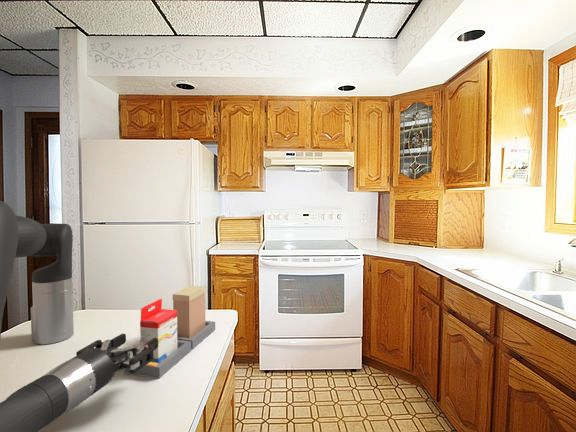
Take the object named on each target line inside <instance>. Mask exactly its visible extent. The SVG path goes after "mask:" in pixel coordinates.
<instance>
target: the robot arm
mask: <svg viewBox="0 0 576 432" xmlns="http://www.w3.org/2000/svg"><path fill="white" fill-rule="evenodd" d="M73 239H74V237H73V229H72V227H71V225H70V224H68V223H40V222H39V221H37V220H35V219H32V218H29V217H25V216H22V215H16V214H15V212H14V210H13V209H12V207H11V206H10V205H9V204H8V203H7V202H5V201H4V200H3V201H2V200H0V339H1V337H2V336H1V335H2V334H1V333H2V323H3V317H4V310H5V305H6V301H7V296H8V292H9V288H10V283H11V279H12V275H13V269H14V264H15V259H16V258H25V257H29V256H30V257H56V260H55V261H54V262H52V263H51V264H49V265H46V266H43V267H40V268H38V269H35V270H34V271H33V272H32V273H31V283H32V284H31V286H32V290H31V291H32V306H30V326H31V327H30V329H31V330H30V332H31V340H32V341H33V343H34V344H37V345H49V344H55V343H59V342H62V341H65V340H68V339H70V338H71V337H73V335H74V333H75V331H74V329H75V328H74V299H73ZM126 342H127V334H126V333H121V334H119V335H117V336H115V337H112V339H106V340H104V341H102V339H98V340H95V341H93V342H92V343H90V344H88V345H86V346H84V347H83V348H81V349H79V350H78V351H76V353H75V354H76V355H75V356H73V357H72V358H70V359H68V360H66V361H64V362H62V363H60V364H59V365H57V366H56V367H54V368H52V369H51V370H49V371H47V372H46V373H45V374H43V375H42V376H40V377H38V378H36V379H34V380H33V381H31V382H30V383H27V384H26V385H23V386H21V387H20V388H19V389H17V390H15V391H14V392H13V393H11V394H10V395H9V396H7V398H5V399H4V400H3V401H1V402H0V432H39V431H41V430H43V429H44V428H45V427H47V426H48V425H50V424H51V423H53V422H54V421H55V420H57V419H58V418H59V417H61V416H62V415H64V414H66V413H67V412H70V411H72V410H73V409H74V408H75V407H78V406H79V405H80V404H81V403H83V402H84V401H86V400H88V398H90V397H91V396H94V394H95V393H97V392H98V391H100V390H102V389H103V388H104V387H106V386H107V385H108V384H109V383H110V382H111V380H112V378H113V377H114V375H115V374H116V373H118V372H119V371H123V370H124V368H127V369H129V373H130V374H129V375H134V374H133V373H135V372H137V371H138V370H140V369H141V368H142V367H144V366H145V365H147V364H148V363H150V362H151V361H153V360H154V350H156V349H157V348H158V338H153V339H152V340H150V341H149V342H147V343H146V344H144V345H142V346H141V345H139V346H135V345H131V346H126V347H122V348H119V347H121V346H122V345H124V344H126ZM141 350H142V352H141V353H139V352H140V351H141ZM128 352H130V358H131V359H130V360H129V361H127V360H128ZM137 353H139V354H138V355H137Z"/></svg>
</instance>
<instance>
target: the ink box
mask: <svg viewBox="0 0 576 432" xmlns="http://www.w3.org/2000/svg"><path fill="white" fill-rule="evenodd" d="M162 303H163V298H159V299H157V300H155V301H153V302H151V303H149V304H147V305H145V306H142V307H141V309H140V321H139V323H140V324H139V328H140V329H139V330H140V332H139V333H140V337H139V338H140V346H142V345H144V344H146V343H147V342H149V341H150V340H152V339H153V338H158V348H157V349H156V350H154V360H153V361H151V362H155V363H158V364H159V363H160V362H162V361H163V360H164V359H165V358H167V357H168V356H169V355H170V354H172V353H173V352H174V351H175V350H177V311H176V310H173V309H169V308H168V309H165V308H162V306H163V304H162ZM152 307H154V308H153V309H151V308H152ZM149 309H150V310H149ZM141 352H142V350H141Z"/></svg>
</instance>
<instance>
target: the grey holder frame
mask: <svg viewBox="0 0 576 432" xmlns="http://www.w3.org/2000/svg"><path fill="white" fill-rule="evenodd" d="M215 330H216V321H211V320H205V327H204V328H203V329H202V330H200V331H199V332H198V333H197V334H195V335H194V336H193V337H192V338H185V337H177V350H175V351H174V352H173V353H172V354H170V355H169V356H168V357H167V358H165V359H164V360H163V361H162V362H160V363H159V364H158V363H155V362H150V363H148V364H147V365H145V366H144V367H142V368H141V369H140V370H138V371H137V372H135V373H133V374H132V375H135V376H142V377H148V378H155V379H161V378H162V377H163V376H165V374H167V372H170V370H171V369H172V368H173V367H174V366H176V365H177V364H178V363H179V362H180V361H181V360H183V358H185V357H186V356H187V355H188V354H189V353H191V352H192V350H194V349H196V347H197V346H198V345H200V344H201V343H202V342H203V341H204V340H205V339H206V338H207V337H209V336H210V335H211V334H212V333H213V332H214V331H215ZM139 353H141V351H138V352H137V355H138V354H139ZM130 359H131V357H130ZM130 359H128V360H127V361H129V360H130ZM123 370H124V371H123V373H125V374H129V375H131V374H130V373H129V369H127V368H124V369H123Z"/></svg>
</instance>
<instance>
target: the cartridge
mask: <svg viewBox="0 0 576 432" xmlns="http://www.w3.org/2000/svg"><path fill="white" fill-rule="evenodd" d="M206 291H207V290H206V286H198V285H188V286H187V287H184V288H183V289H180V290H178V291H177V292H174V293H173V294H172V301H173V302H172V305H173V306H172V307H173V308H172V310H176V311H177V337H185V338H192V337H193V336H194V335H195V334H197V333H198V332H199V331H200V330H202V329H203V328H204V327H205V321H206Z"/></svg>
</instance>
